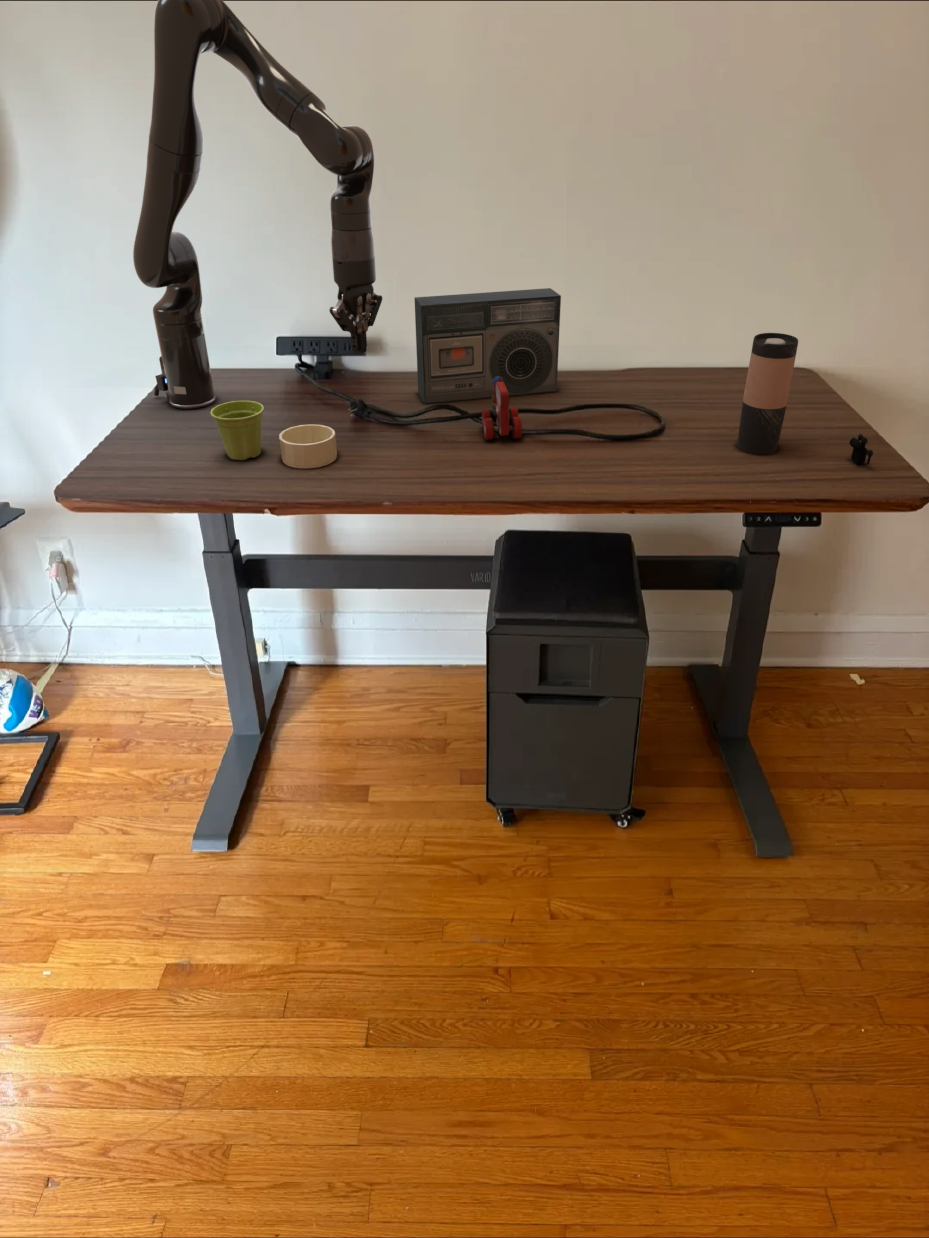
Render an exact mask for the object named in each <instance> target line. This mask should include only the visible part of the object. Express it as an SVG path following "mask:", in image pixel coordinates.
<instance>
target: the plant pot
mask: <svg viewBox="0 0 929 1238" xmlns="http://www.w3.org/2000/svg"><path fill="white" fill-rule="evenodd" d="M264 410H265V407H264V405H263V404H262V403H260V402H258V401H253V400H231V401H228V402H223V403H220V404H218V405H215V406H214V407H213V408H212V409H211V410H210V412H209V413H210V415H211V417H212V418H213V419H214V422H215V424H216V426H217V428H218V431H219V434H220V437H221V440H222V443H223V447H224V449H225V452H226V455H227V456H228V458H229V459H231V460H234V461H246V460H248V459H249V458H252V459H254V458H257V457H259V456H260V455H261V452H262V419H263V412H264Z"/></svg>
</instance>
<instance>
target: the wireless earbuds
mask: <svg viewBox="0 0 929 1238" xmlns="http://www.w3.org/2000/svg"><path fill="white" fill-rule="evenodd" d="M867 444H868V438H867V437H865V436H864V435H863V434H862V433H859V434H857V437H855V436H852V438H851V439H850V440H849V445H850V446H851V447H852V451H851V454H850V455H851V456H850V460H852V461H853V462H854V463H855V464H856V465H859V466H861V465H864V464H865V462H866V465H867V466H870V464H871V463H870V462H871V459H872V456H873V455H874V451H873V450H872V449H868V448H866V445H867ZM866 458H867V461H866Z"/></svg>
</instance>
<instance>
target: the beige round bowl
mask: <svg viewBox="0 0 929 1238" xmlns="http://www.w3.org/2000/svg"><path fill="white" fill-rule="evenodd" d="M336 437H337V436H336V431H335V429H334V428H332V427H330V426H327V425H323V424H314V423H313V424H312V423H310V424H300V425H295V426H291V427H288V428H286V429H283V430H282V431H281V432H280V433H279V434H278V440H279V447H280V455H281V461H282V463H283V464H284V465H286V466H288V467H290V468H294V469H304V470H305V469H316V468H317V469H318V468H322V467H324V466H328V465H330V464H332V463H334V462H335V461H336V460H337V458H338V449H337V438H336Z"/></svg>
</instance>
